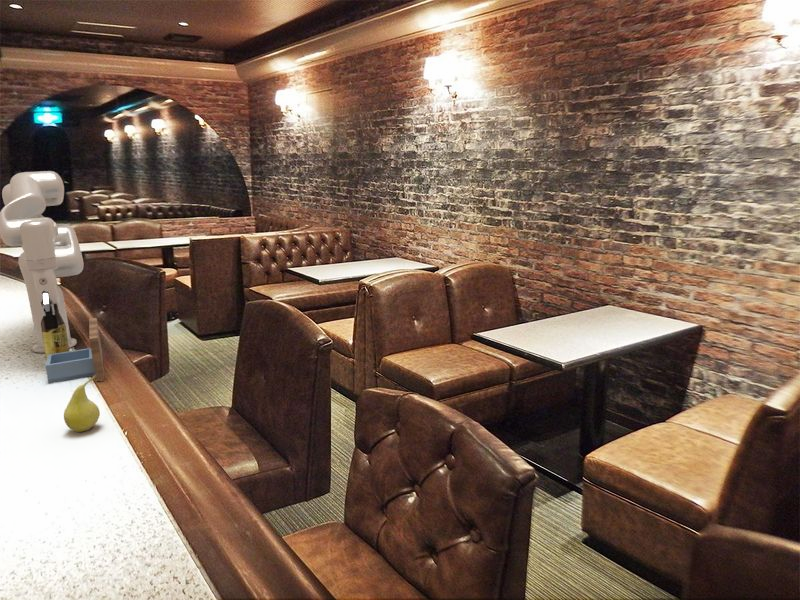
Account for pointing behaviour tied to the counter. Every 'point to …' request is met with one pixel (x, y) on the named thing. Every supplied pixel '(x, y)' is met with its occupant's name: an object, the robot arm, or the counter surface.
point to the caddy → (69, 365)
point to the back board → (96, 349)
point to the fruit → (81, 410)
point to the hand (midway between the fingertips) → (52, 325)
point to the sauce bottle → (55, 336)
